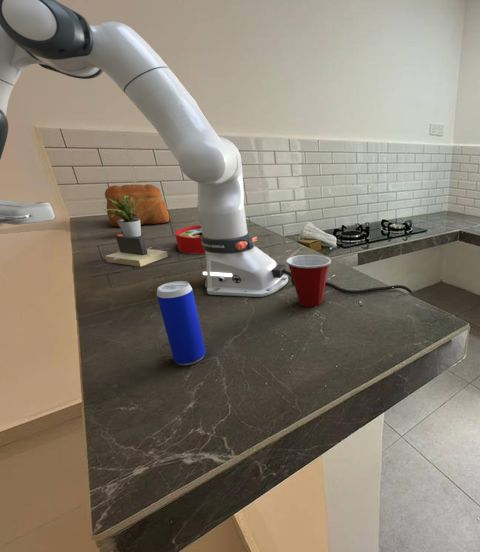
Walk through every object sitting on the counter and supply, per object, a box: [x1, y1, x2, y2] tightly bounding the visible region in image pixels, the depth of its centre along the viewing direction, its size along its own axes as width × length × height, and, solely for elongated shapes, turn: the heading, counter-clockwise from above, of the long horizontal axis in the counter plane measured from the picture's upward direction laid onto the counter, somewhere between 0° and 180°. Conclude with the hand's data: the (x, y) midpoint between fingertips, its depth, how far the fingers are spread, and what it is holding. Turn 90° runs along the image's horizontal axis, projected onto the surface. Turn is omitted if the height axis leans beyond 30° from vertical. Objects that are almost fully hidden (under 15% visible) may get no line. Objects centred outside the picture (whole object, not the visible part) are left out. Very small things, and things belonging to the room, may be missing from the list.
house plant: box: [102, 195, 146, 237], centre depth 127 cm, size 14×14×16 cm
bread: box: [104, 183, 170, 228], centre depth 145 cm, size 18×22×17 cm
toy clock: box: [174, 224, 206, 255], centre depth 122 cm, size 20×6×20 cm
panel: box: [104, 246, 169, 267], centre depth 106 cm, size 14×13×2 cm
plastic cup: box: [286, 254, 332, 308], centre depth 82 cm, size 11×11×12 cm
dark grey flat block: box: [115, 233, 148, 255], centre depth 105 cm, size 9×2×6 cm, turn 78°
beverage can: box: [156, 280, 207, 366], centre depth 58 cm, size 5×5×15 cm
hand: (46, 205), depth 85 cm, fingers closed
